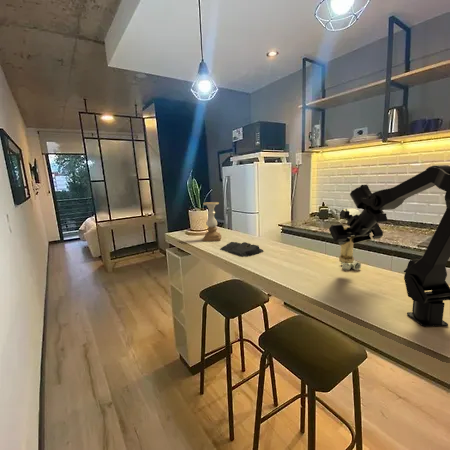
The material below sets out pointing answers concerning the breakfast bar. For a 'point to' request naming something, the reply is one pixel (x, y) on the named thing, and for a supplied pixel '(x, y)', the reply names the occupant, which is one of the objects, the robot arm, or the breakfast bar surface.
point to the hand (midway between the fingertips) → (344, 243)
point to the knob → (347, 251)
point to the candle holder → (211, 223)
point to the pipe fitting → (351, 265)
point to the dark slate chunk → (242, 249)
